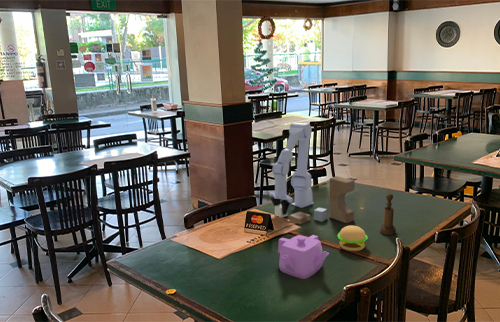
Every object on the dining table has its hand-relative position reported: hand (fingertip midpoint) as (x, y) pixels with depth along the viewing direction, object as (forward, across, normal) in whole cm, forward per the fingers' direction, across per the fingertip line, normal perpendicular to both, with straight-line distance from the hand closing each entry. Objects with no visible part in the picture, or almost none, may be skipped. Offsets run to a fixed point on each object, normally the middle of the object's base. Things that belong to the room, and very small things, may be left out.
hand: (281, 212), depth 209 cm
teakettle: (+2, +45, -33) cm, 56 cm away
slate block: (+2, +17, +10) cm, 20 cm away
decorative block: (+2, +24, +17) cm, 29 cm away
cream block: (+1, 0, 0) cm, 1 cm away
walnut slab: (+2, +11, +2) cm, 11 cm away
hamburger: (+2, +46, -4) cm, 46 cm away
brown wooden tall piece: (+2, +48, +19) cm, 52 cm away
